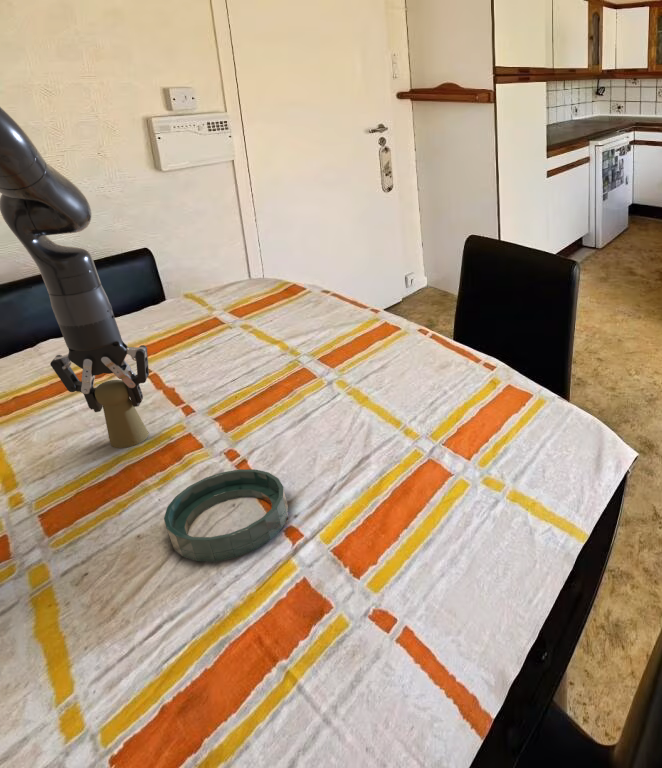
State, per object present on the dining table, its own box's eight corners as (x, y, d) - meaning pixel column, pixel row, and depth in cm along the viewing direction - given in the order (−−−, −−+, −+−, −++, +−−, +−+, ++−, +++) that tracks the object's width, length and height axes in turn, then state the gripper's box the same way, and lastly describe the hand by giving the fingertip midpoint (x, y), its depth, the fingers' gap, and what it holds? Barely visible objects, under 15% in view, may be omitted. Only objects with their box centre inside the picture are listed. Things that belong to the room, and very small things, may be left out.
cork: (149, 441, 109) (130, 386, 104) (110, 451, 106) (88, 395, 101) (148, 425, 113) (129, 372, 108) (110, 435, 111) (89, 380, 106)
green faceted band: (164, 580, 80) (153, 550, 78) (184, 506, 93) (175, 479, 91) (288, 555, 84) (281, 526, 81) (290, 488, 97) (284, 461, 94)
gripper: (23, 329, 94) (63, 425, 102) (129, 318, 97) (160, 411, 105) (41, 312, 100) (78, 403, 108) (140, 301, 104) (168, 390, 112)
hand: (118, 406), depth 107 cm, fingers open, 5 cm apart
